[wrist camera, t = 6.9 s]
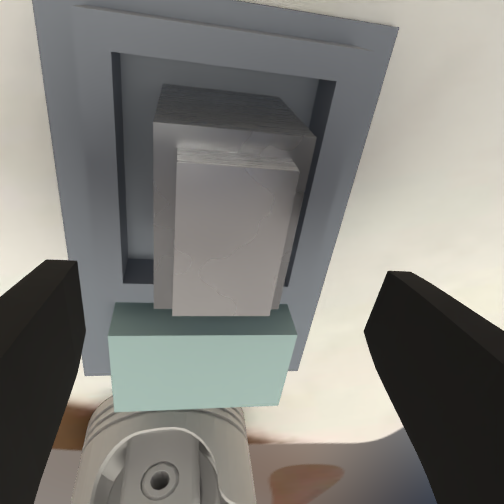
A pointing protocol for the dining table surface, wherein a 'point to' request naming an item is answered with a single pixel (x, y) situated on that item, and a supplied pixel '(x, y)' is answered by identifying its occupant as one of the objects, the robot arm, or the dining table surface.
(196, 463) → the engine component
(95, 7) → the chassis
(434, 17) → the dining table surface
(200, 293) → the block
